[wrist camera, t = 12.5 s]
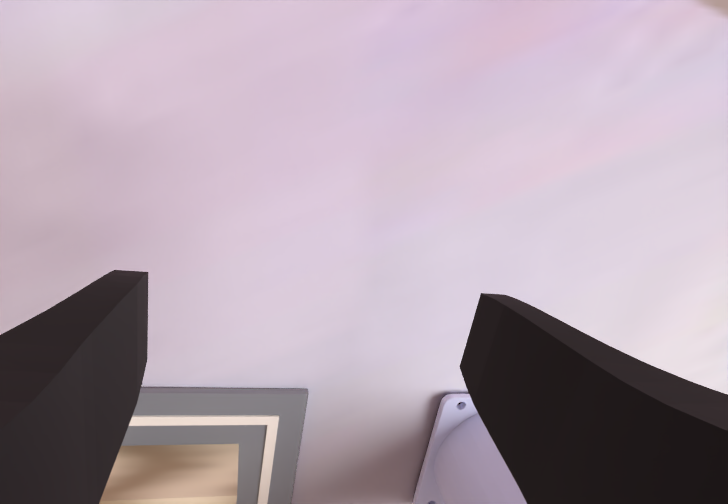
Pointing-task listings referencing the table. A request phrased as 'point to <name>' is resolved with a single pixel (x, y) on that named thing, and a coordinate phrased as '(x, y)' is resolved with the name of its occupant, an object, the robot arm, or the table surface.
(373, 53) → the table surface
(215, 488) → the birch block
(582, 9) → the table surface
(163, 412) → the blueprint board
